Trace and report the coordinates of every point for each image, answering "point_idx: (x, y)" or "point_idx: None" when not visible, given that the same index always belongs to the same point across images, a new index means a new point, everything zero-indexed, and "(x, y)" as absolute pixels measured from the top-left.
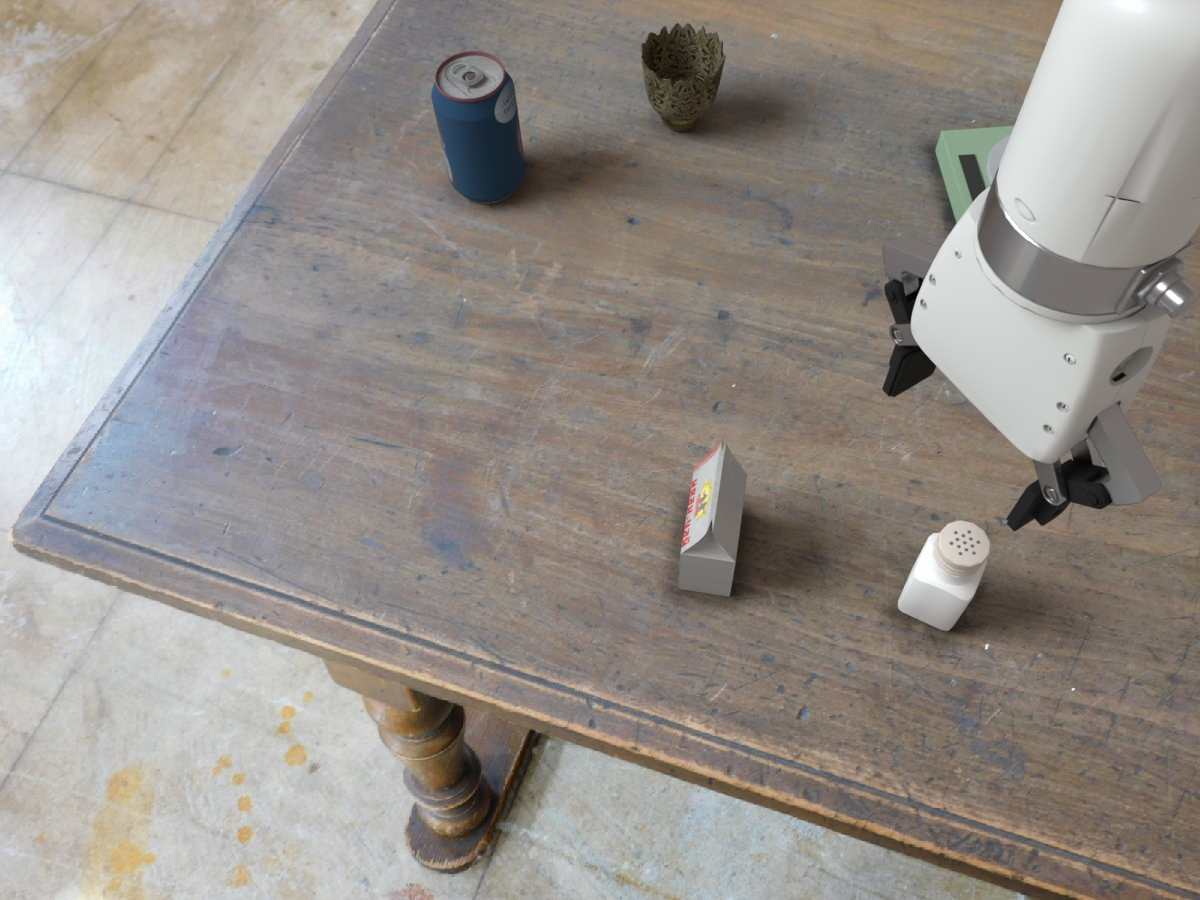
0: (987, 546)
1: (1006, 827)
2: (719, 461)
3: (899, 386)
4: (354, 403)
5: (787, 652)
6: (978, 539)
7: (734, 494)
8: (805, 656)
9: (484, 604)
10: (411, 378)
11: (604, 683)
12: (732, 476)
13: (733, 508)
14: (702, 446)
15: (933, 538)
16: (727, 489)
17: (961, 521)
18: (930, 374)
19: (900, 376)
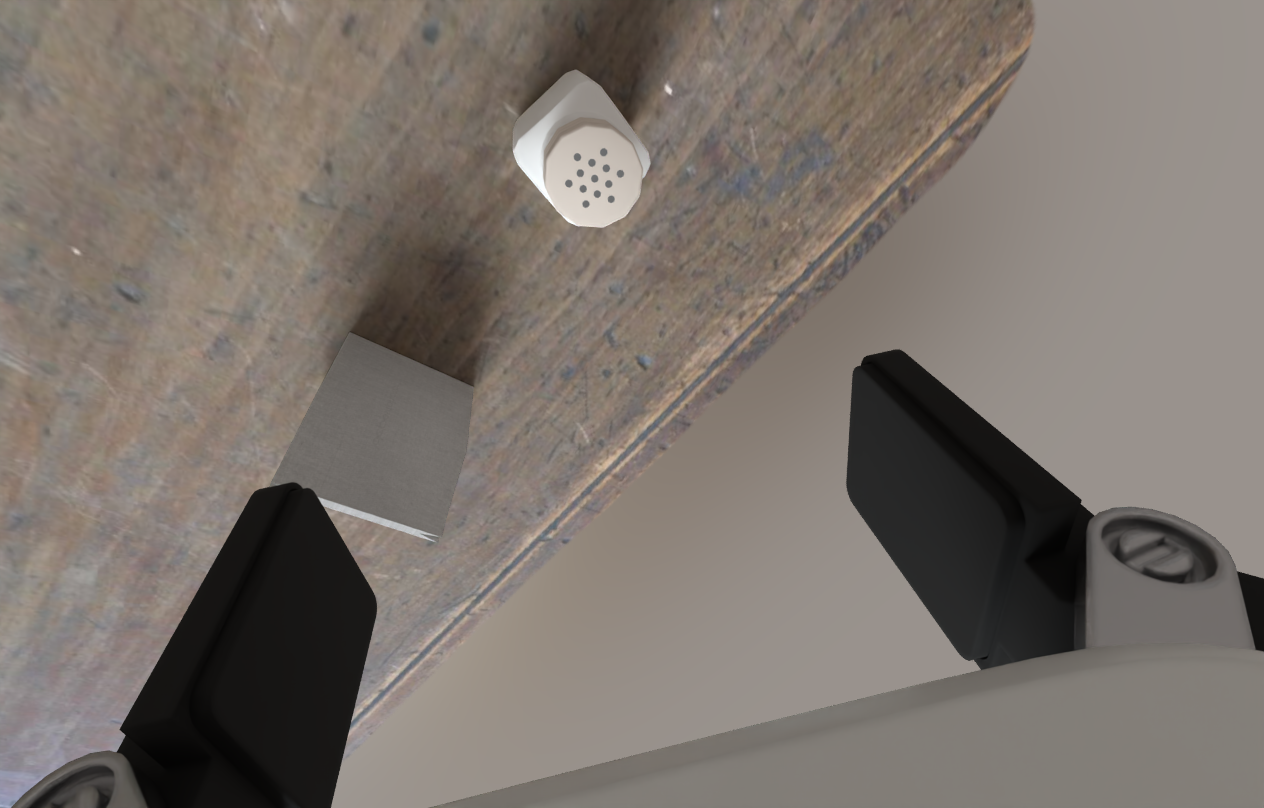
0: (618, 138)
1: (864, 206)
2: None
3: (362, 640)
4: (98, 676)
5: (568, 350)
6: (598, 148)
7: (362, 445)
8: (581, 333)
9: (407, 599)
10: (54, 629)
11: (530, 524)
12: (332, 449)
13: (387, 451)
14: (214, 341)
15: (526, 163)
16: (358, 469)
17: (550, 158)
18: (311, 500)
19: (351, 711)
